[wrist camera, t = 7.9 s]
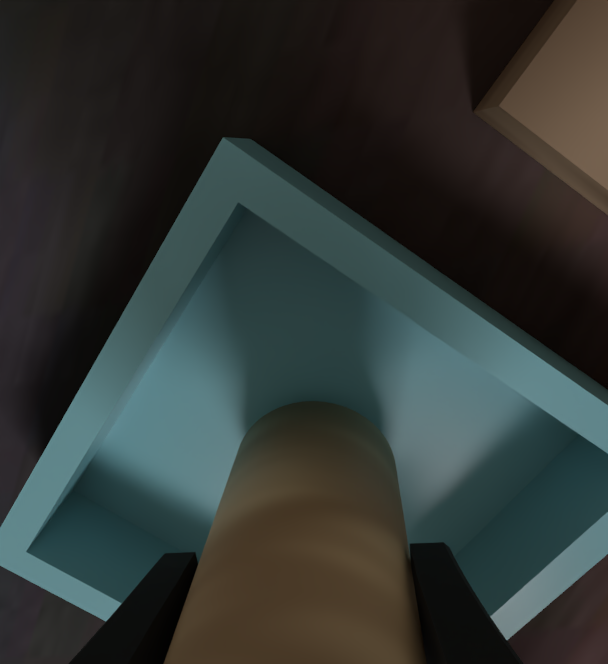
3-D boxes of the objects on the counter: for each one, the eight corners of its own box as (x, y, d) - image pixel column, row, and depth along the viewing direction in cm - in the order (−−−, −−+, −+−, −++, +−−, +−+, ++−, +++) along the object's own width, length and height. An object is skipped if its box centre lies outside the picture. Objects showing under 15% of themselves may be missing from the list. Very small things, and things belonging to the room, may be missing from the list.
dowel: (399, 401, 12) (461, 704, 6) (393, 539, 14) (439, 913, 7) (230, 400, 12) (102, 685, 6) (241, 535, 14) (147, 888, 7)
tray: (627, 403, 14) (703, 471, 11) (363, 659, 17) (368, 759, 14) (250, 139, 12) (223, 137, 9) (47, 482, 16) (-16, 556, 13)
